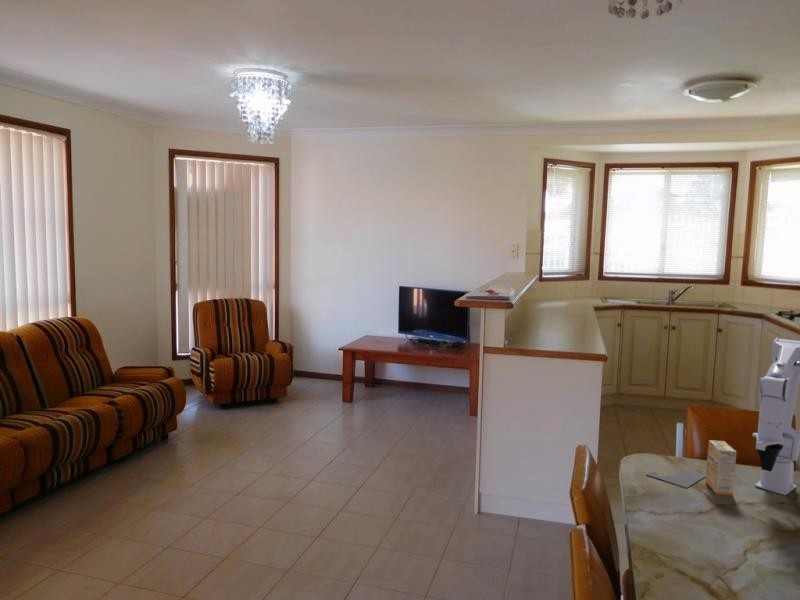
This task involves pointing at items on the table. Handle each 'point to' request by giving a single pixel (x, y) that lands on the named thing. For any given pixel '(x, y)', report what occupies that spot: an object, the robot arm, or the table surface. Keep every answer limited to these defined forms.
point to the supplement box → (721, 467)
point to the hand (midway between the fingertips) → (766, 469)
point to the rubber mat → (679, 478)
